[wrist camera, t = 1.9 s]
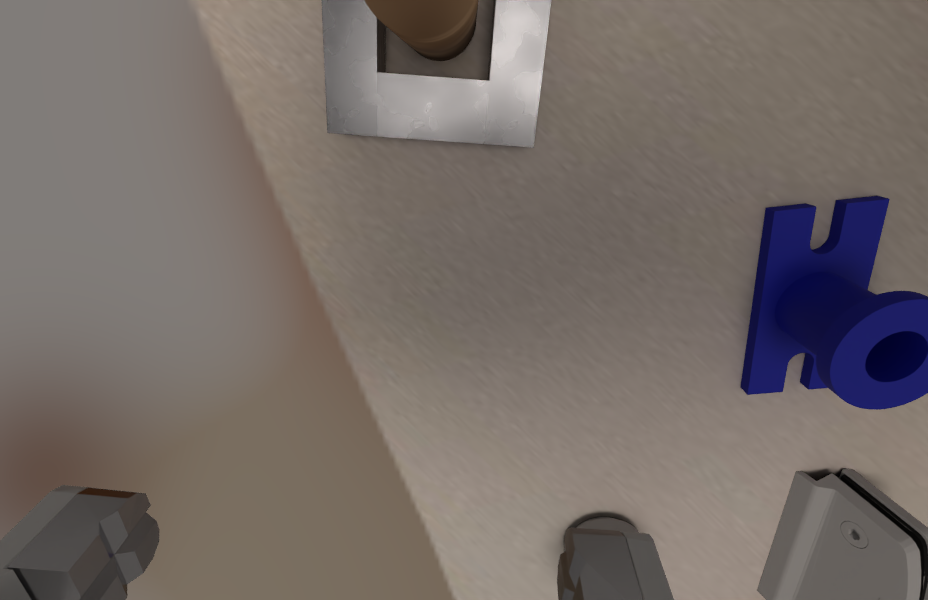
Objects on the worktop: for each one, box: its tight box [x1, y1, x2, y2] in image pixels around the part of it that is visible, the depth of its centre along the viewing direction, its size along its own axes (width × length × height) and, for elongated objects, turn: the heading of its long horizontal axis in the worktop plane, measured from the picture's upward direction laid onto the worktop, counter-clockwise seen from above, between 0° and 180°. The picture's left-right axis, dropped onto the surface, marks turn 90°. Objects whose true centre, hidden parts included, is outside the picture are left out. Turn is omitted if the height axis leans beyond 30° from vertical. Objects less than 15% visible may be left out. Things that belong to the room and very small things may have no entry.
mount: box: [741, 196, 928, 409], centre depth 32 cm, size 15×8×9 cm, turn 7°
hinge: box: [757, 469, 928, 600], centre depth 42 cm, size 17×5×10 cm, turn 1°
